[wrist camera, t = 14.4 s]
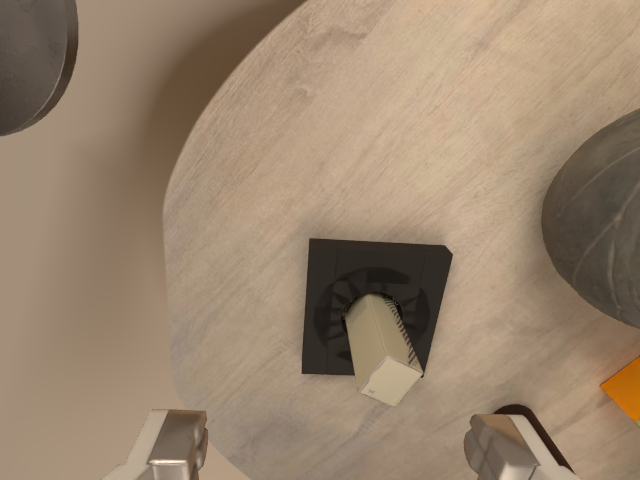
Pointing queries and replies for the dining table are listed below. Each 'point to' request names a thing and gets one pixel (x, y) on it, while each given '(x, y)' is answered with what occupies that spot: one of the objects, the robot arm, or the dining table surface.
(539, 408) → the dining table surface
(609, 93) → the dining table surface
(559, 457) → the bottle
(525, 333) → the dining table surface
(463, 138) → the dining table surface
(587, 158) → the bowl
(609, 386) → the orange juice
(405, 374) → the box
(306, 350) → the pad
